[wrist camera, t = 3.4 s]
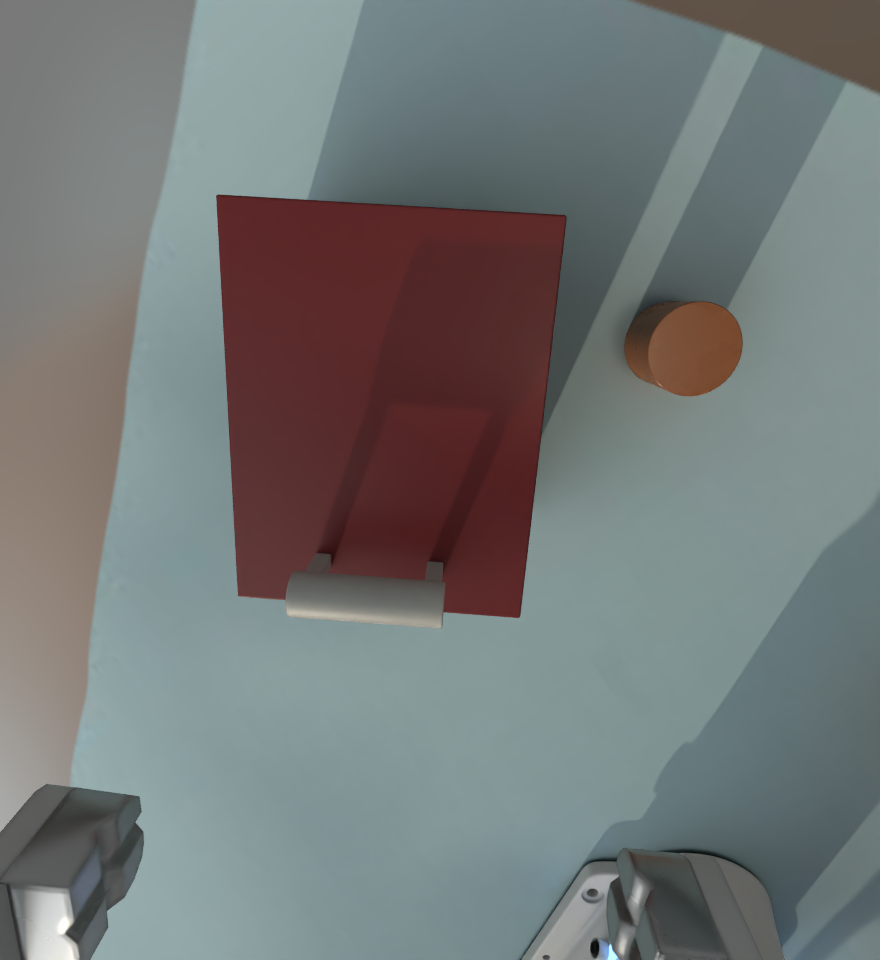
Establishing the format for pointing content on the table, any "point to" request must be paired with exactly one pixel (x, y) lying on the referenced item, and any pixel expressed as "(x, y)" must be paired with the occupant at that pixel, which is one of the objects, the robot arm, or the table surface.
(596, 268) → the table surface
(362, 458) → the lid
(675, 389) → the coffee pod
